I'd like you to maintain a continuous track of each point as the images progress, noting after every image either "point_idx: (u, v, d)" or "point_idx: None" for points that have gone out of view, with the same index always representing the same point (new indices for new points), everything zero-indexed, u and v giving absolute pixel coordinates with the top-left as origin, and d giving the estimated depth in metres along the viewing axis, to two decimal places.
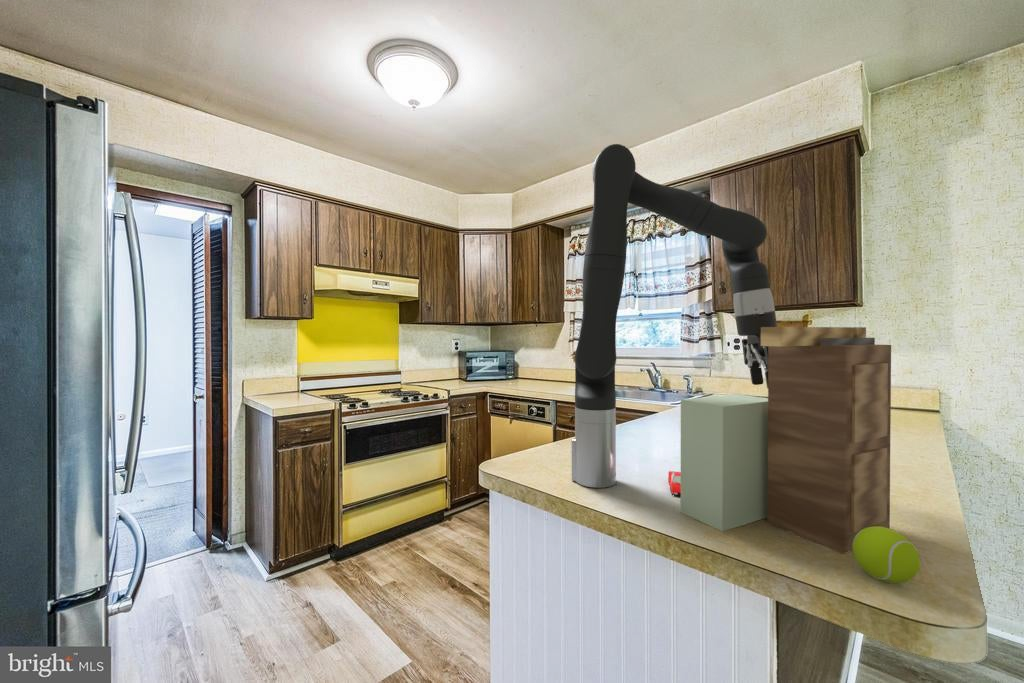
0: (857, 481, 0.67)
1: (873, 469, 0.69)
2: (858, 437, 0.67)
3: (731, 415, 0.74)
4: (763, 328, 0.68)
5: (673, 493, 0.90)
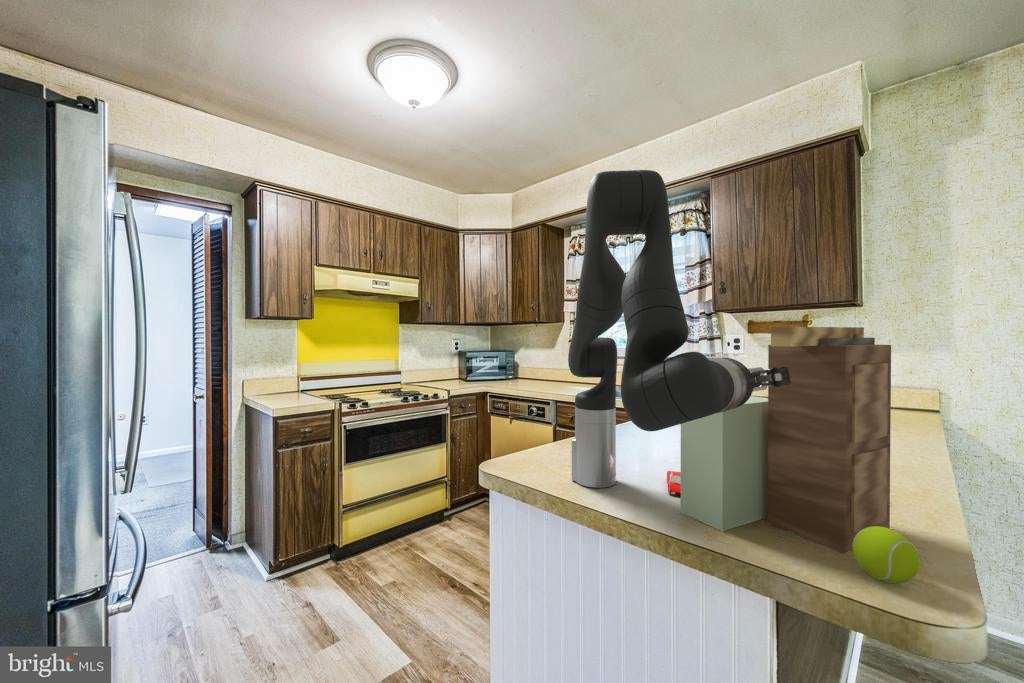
0: (857, 481, 0.67)
1: (873, 469, 0.69)
2: (858, 437, 0.67)
3: (731, 415, 0.74)
4: (773, 328, 0.67)
5: (671, 493, 0.90)
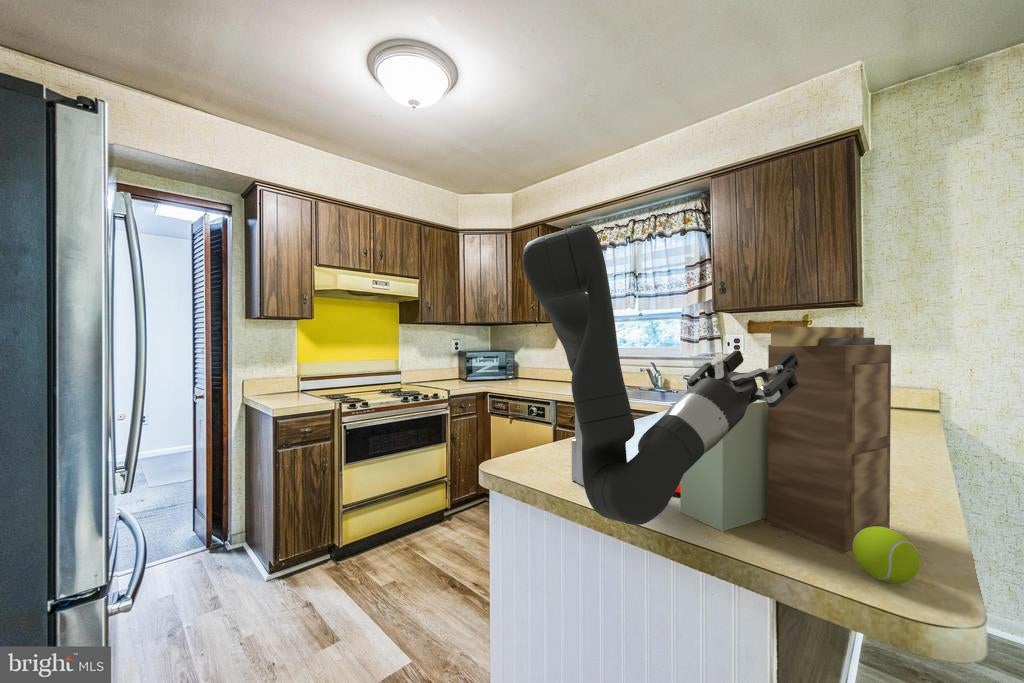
0: (857, 481, 0.67)
1: (873, 469, 0.69)
2: (858, 437, 0.67)
3: None
4: (773, 328, 0.67)
5: None
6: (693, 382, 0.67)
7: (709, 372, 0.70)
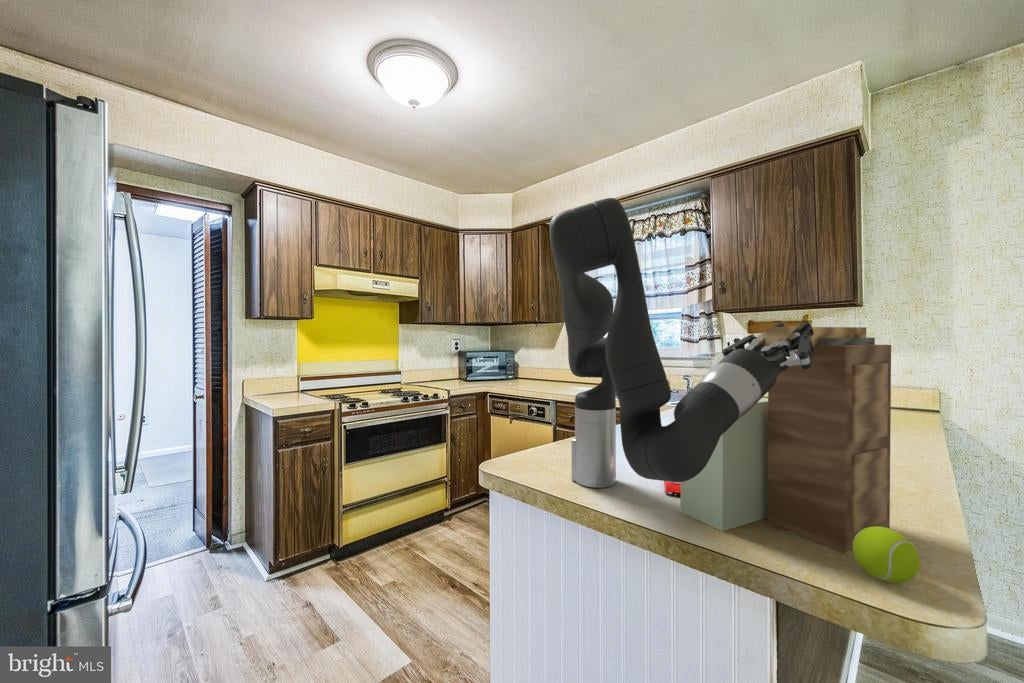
0: (857, 481, 0.67)
1: (873, 469, 0.69)
2: (858, 437, 0.67)
3: None
4: (768, 328, 0.68)
5: (667, 492, 0.90)
6: (727, 352, 0.71)
7: None
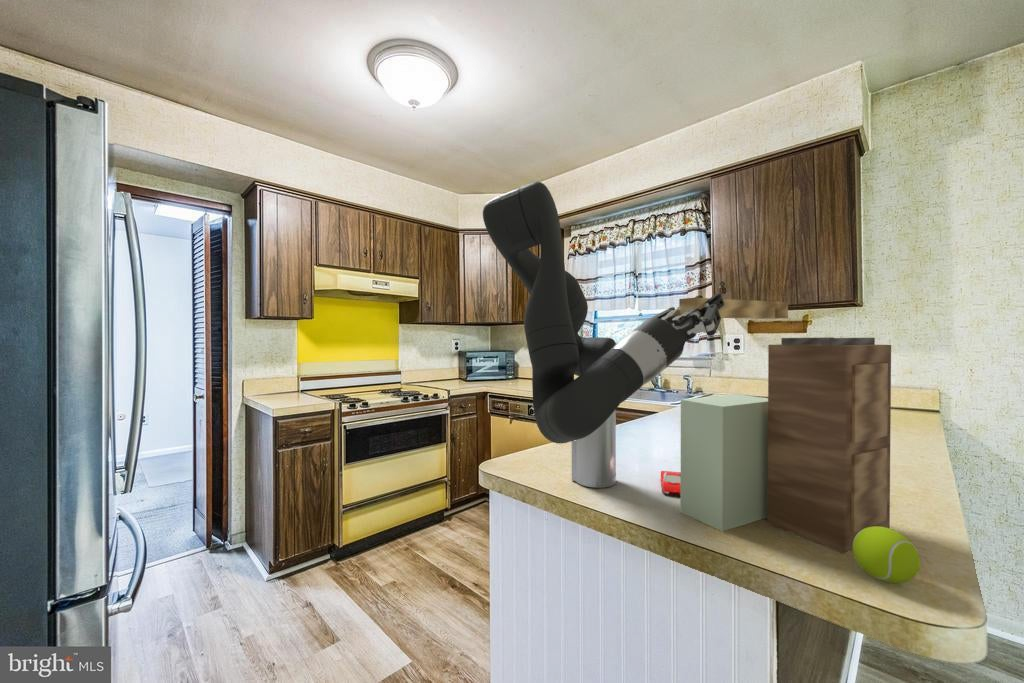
0: (857, 481, 0.67)
1: (873, 469, 0.69)
2: (858, 437, 0.67)
3: (731, 415, 0.74)
4: (681, 300, 0.70)
5: (664, 492, 0.90)
6: None
7: None
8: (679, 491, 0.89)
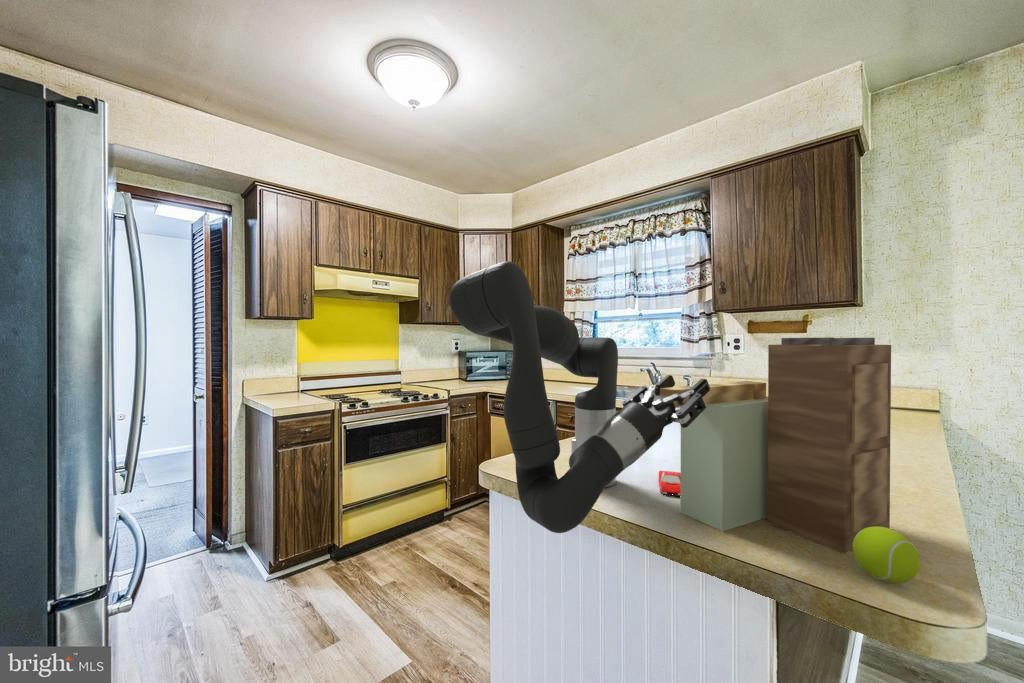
0: (857, 481, 0.67)
1: (873, 469, 0.69)
2: (858, 437, 0.67)
3: (731, 415, 0.74)
4: (661, 389, 0.74)
5: (662, 492, 0.90)
6: (626, 403, 0.77)
7: (644, 394, 0.79)
8: (677, 491, 0.89)
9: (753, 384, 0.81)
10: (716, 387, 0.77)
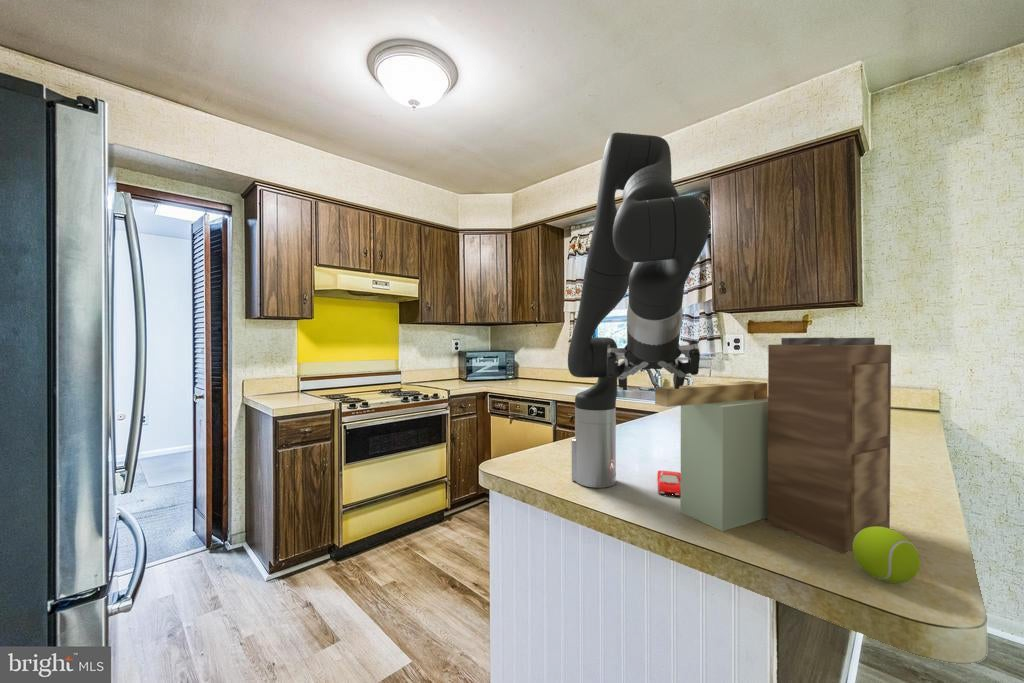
0: (857, 481, 0.67)
1: (873, 469, 0.69)
2: (858, 437, 0.67)
3: (731, 415, 0.74)
4: (656, 388, 0.76)
5: (660, 492, 0.90)
6: (614, 346, 0.69)
7: None
8: (674, 491, 0.89)
9: (753, 384, 0.81)
10: (713, 387, 0.77)
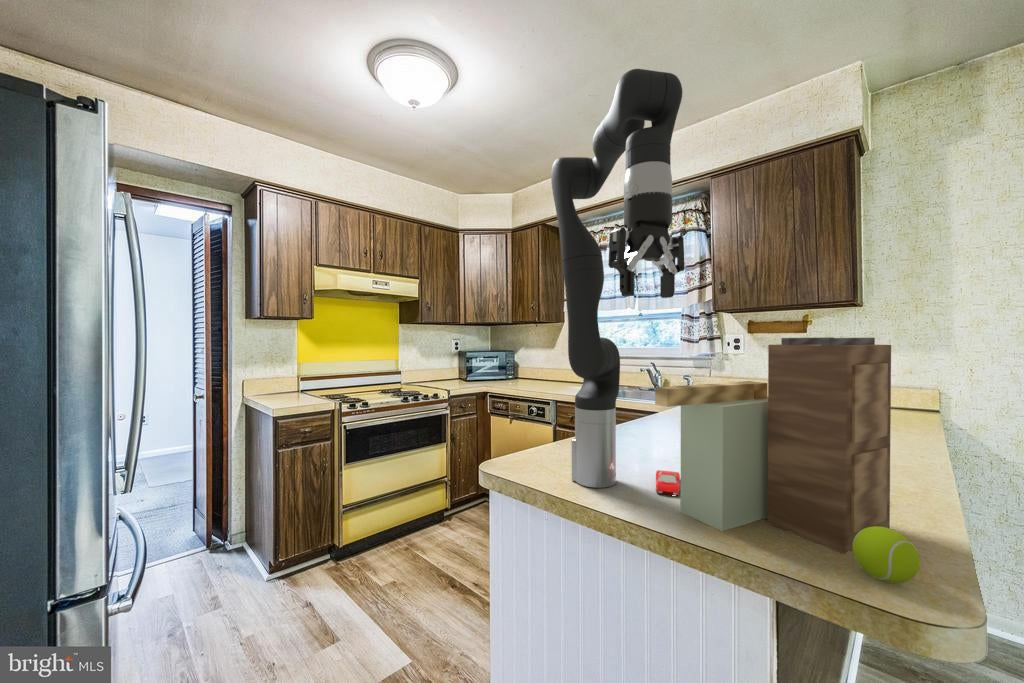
0: (857, 481, 0.67)
1: (873, 469, 0.69)
2: (858, 437, 0.67)
3: (731, 415, 0.74)
4: (656, 388, 0.76)
5: (658, 492, 0.91)
6: None
7: None
8: (672, 491, 0.89)
9: (753, 384, 0.81)
10: (713, 387, 0.77)
